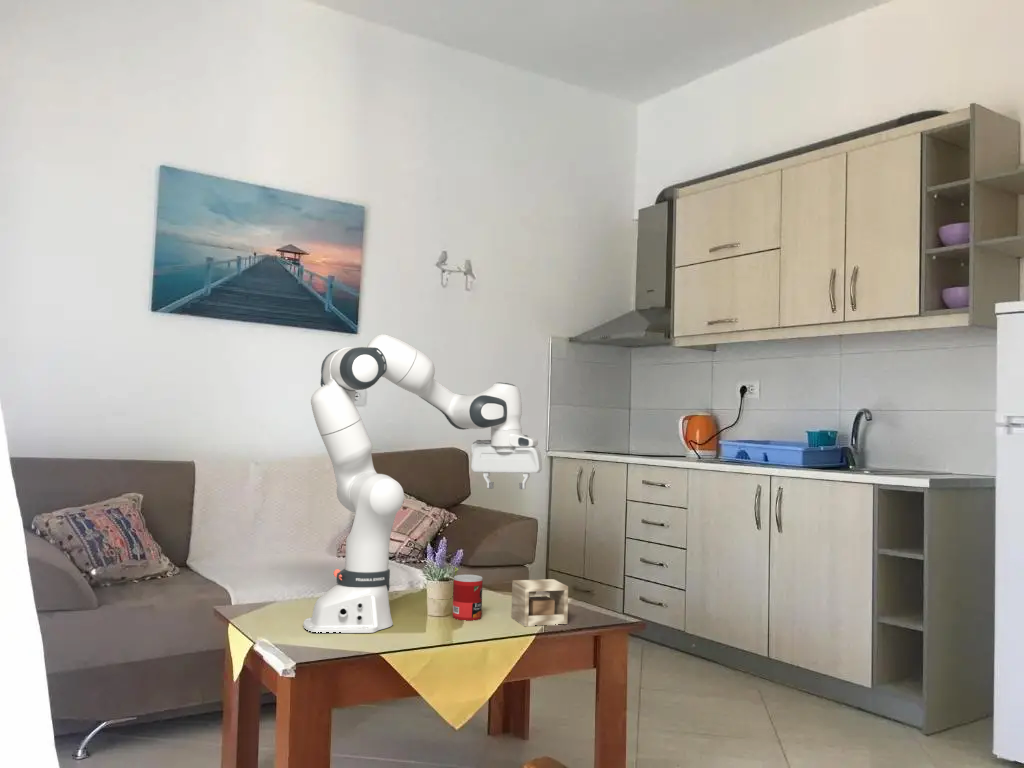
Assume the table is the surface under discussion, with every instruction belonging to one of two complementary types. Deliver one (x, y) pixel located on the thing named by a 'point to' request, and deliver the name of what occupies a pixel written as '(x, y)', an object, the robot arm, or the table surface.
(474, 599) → the canned food
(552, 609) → the partly hidden dark block
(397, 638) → the table surface
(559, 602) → the oak cubby
